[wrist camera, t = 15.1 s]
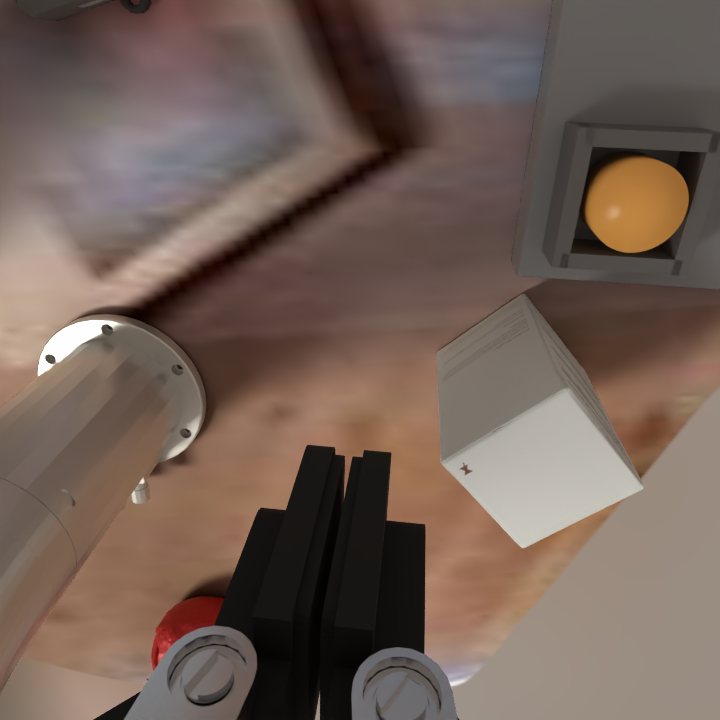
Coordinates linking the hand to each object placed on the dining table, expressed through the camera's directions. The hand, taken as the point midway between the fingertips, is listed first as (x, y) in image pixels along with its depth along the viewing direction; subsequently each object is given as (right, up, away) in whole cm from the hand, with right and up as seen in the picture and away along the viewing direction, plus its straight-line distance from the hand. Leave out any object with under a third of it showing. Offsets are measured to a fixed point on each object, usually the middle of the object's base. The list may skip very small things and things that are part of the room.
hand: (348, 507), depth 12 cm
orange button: (+14, +12, +19) cm, 26 cm away
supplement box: (+10, +3, +28) cm, 30 cm away
